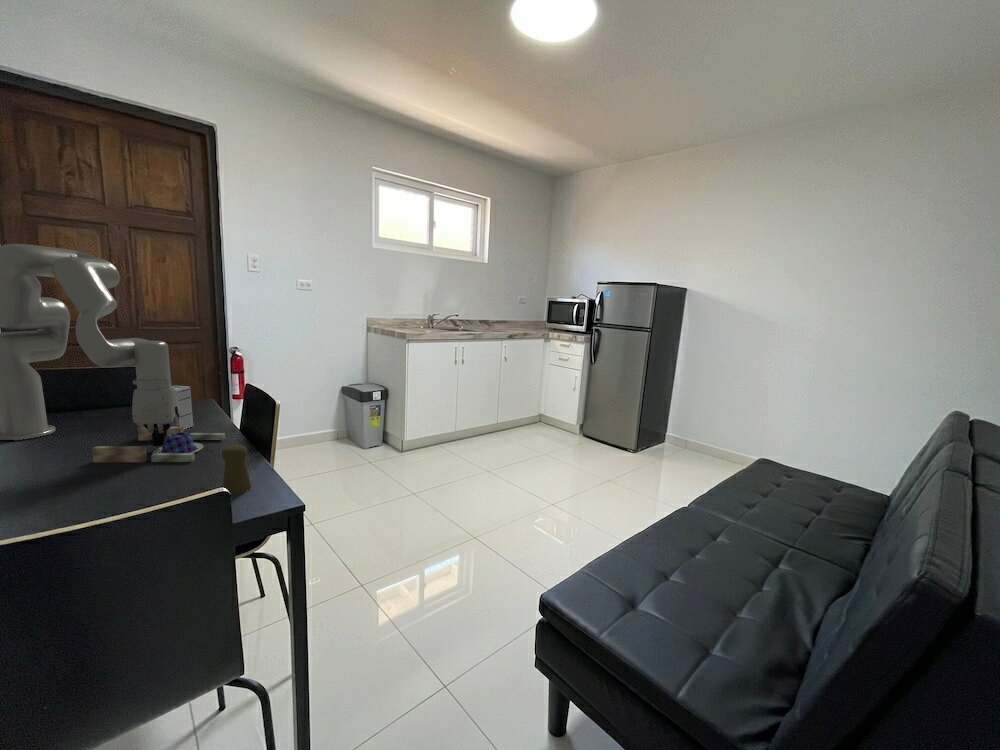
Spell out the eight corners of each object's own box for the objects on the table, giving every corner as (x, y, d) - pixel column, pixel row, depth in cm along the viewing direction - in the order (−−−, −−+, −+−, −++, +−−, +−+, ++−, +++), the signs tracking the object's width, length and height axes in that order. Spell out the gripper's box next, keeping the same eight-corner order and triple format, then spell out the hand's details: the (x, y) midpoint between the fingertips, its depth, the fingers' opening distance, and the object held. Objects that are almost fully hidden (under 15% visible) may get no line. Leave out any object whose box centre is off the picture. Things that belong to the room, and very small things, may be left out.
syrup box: (194, 426, 144) (191, 385, 142) (179, 432, 138) (176, 389, 136) (179, 425, 145) (175, 384, 142) (163, 430, 139) (160, 388, 136)
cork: (230, 483, 105) (228, 442, 103) (255, 484, 105) (253, 442, 103) (216, 494, 99) (213, 450, 97) (243, 495, 99) (240, 451, 97)
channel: (93, 462, 112) (91, 448, 111) (141, 438, 130) (140, 426, 130) (191, 461, 116) (190, 448, 115) (225, 439, 134) (224, 427, 134)
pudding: (180, 442, 130) (178, 426, 129) (213, 447, 128) (212, 431, 127) (141, 456, 118) (139, 439, 117) (177, 461, 116) (176, 443, 115)
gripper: (115, 386, 115) (122, 449, 118) (175, 387, 117) (180, 449, 120) (134, 380, 122) (140, 440, 125) (190, 382, 124) (195, 440, 128)
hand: (160, 444), depth 123 cm, fingers closed
